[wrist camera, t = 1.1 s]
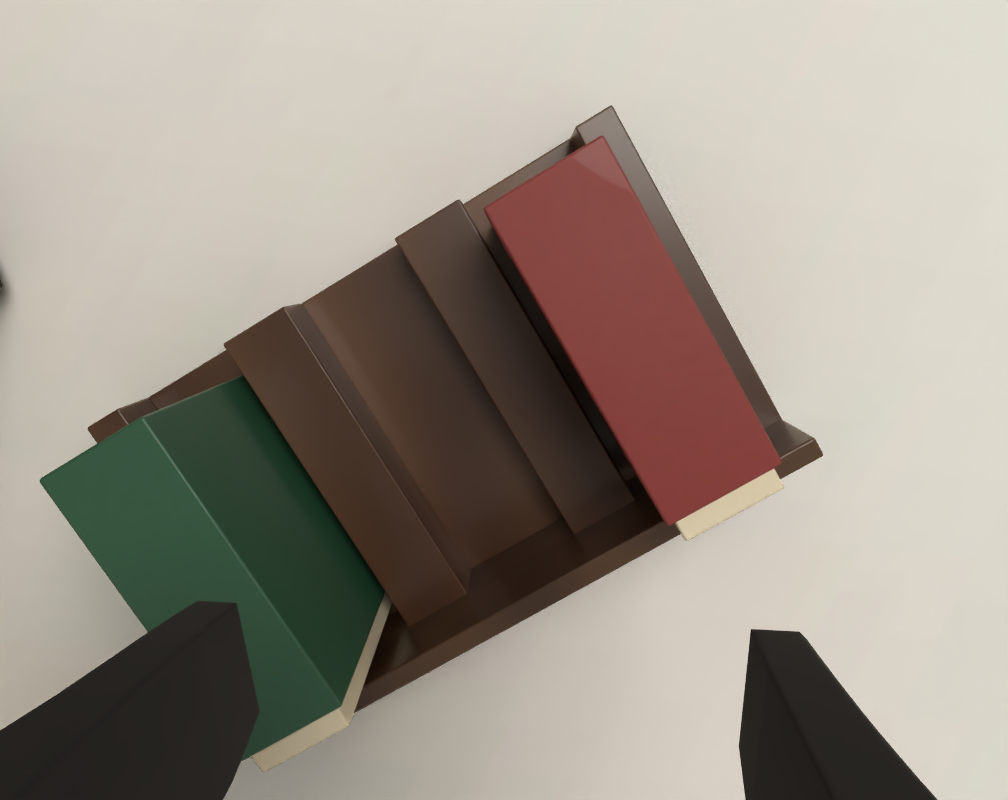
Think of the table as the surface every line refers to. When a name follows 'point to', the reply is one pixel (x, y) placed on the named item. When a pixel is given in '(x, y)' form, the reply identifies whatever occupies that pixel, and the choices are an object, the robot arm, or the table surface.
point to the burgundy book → (636, 339)
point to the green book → (234, 553)
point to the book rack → (462, 425)
